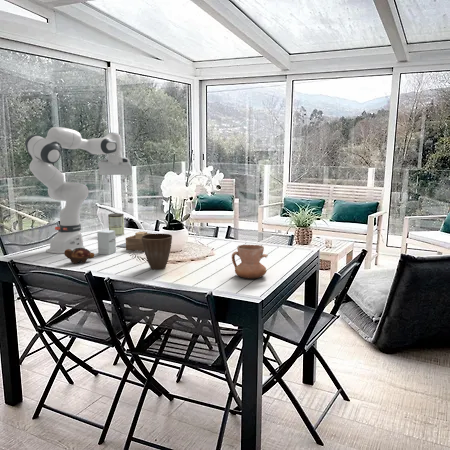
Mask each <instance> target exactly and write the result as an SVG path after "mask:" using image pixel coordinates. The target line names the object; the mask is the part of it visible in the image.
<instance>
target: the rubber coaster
mask: <svg viewBox="0 0 450 450" xmlns="http://www.w3.org/2000/svg"><path fill="white" fill-rule="evenodd" d="M116 248H122V249H123V248H125V249H126V242H124V243H121V244H116Z"/></svg>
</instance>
